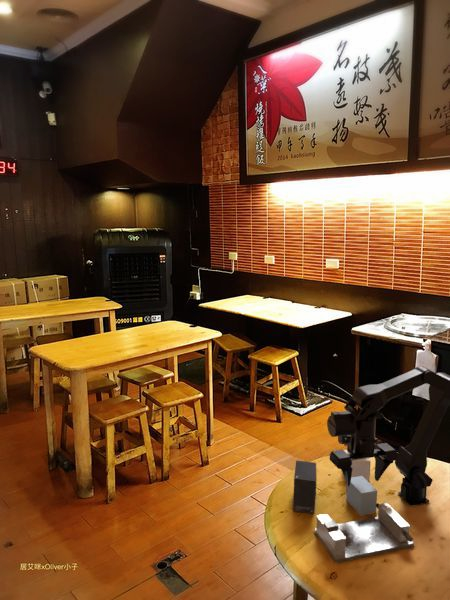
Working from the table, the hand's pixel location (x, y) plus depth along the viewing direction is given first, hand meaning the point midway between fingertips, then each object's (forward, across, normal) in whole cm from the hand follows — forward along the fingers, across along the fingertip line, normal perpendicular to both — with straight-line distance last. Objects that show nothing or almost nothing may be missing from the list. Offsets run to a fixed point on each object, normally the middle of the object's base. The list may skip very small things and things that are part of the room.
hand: (362, 482), depth 137 cm
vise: (+7, +7, +13) cm, 17 cm away
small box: (+8, +15, -6) cm, 18 cm away
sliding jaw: (+6, -2, +13) cm, 14 cm away
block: (+7, 0, 0) cm, 7 cm away
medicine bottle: (+8, -7, -15) cm, 18 cm away
